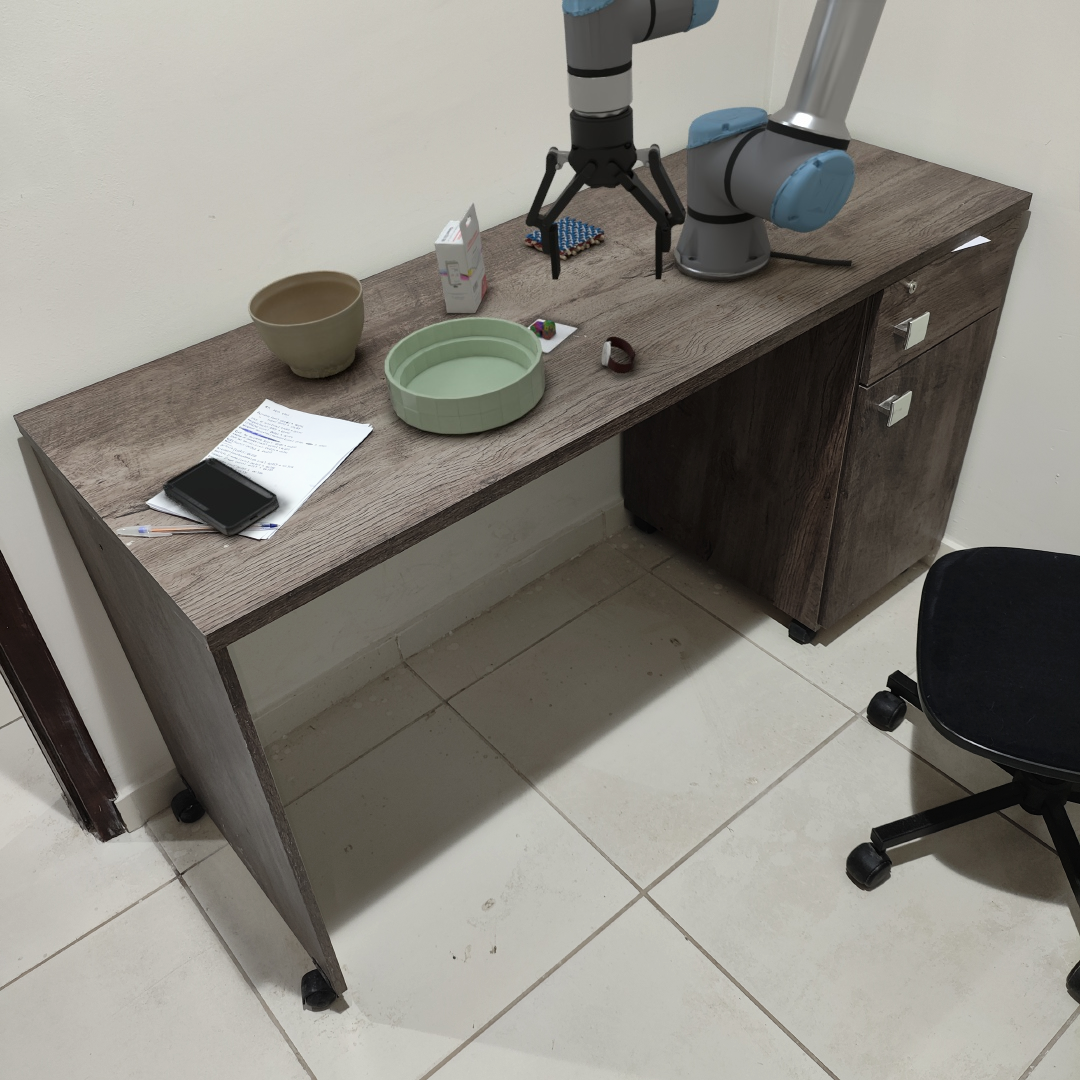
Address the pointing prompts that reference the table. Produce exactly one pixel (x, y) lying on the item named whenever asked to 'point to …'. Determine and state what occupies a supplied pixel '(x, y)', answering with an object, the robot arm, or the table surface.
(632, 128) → the robot arm
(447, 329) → the bowl
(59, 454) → the table surface
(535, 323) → the white paper sheet
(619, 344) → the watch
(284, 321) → the planter bowl
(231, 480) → the phone
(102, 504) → the table surface
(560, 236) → the woven mat
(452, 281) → the ink cartridge box
